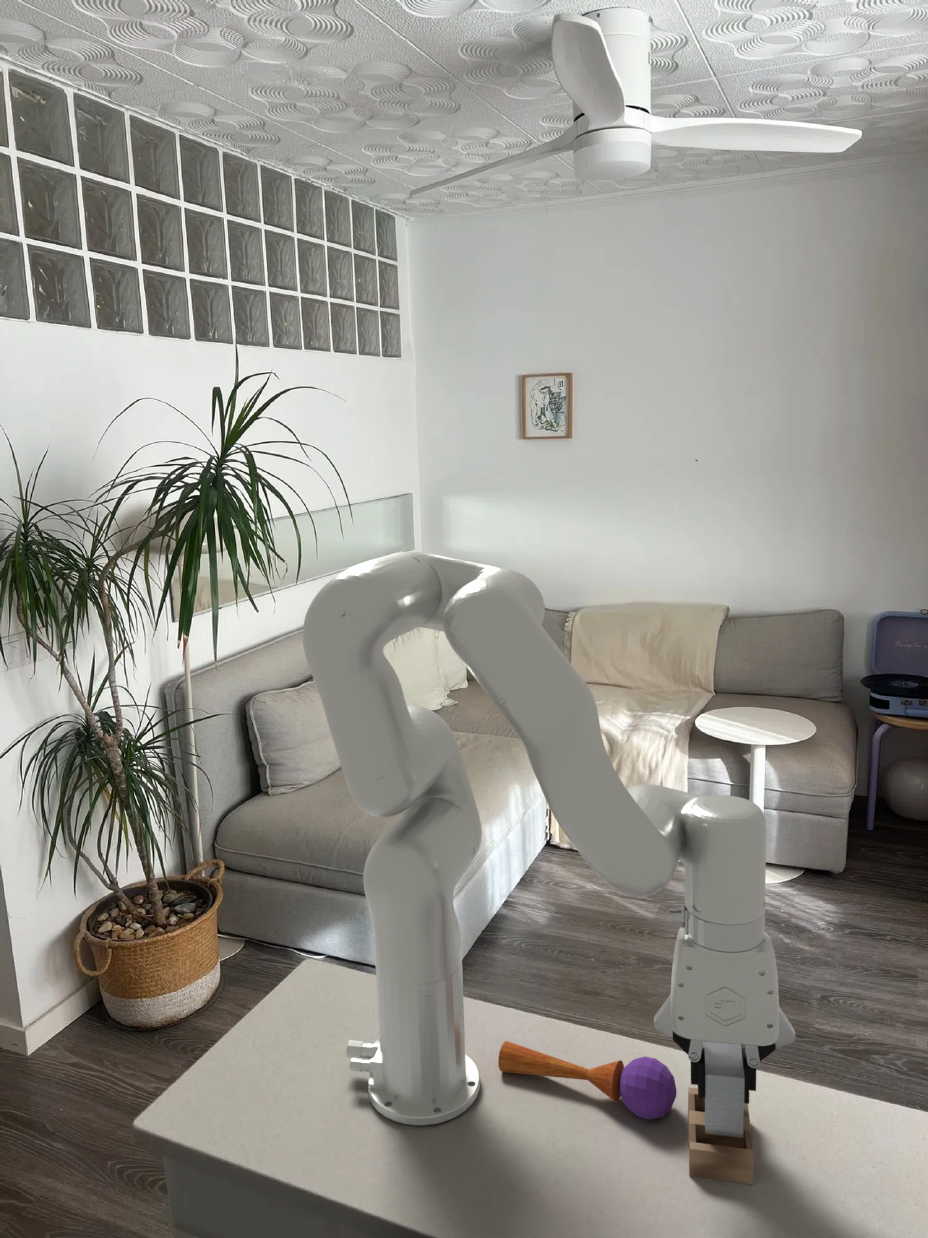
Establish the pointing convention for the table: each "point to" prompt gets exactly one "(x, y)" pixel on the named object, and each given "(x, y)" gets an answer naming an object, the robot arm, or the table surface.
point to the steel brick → (724, 1089)
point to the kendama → (602, 1078)
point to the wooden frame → (718, 1147)
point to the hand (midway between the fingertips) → (722, 1090)
